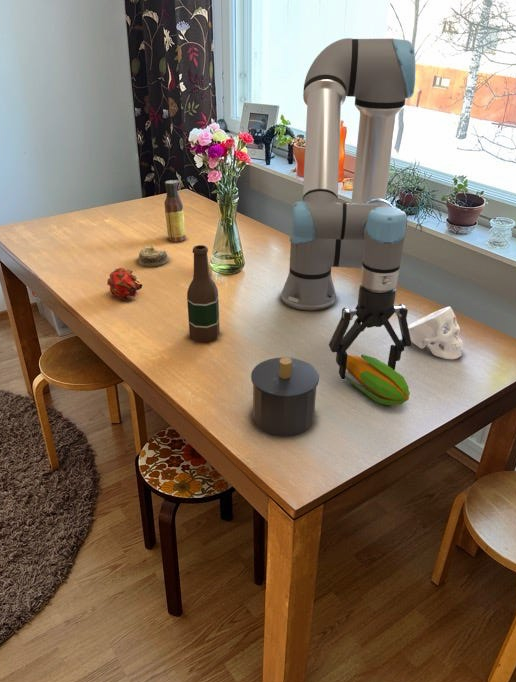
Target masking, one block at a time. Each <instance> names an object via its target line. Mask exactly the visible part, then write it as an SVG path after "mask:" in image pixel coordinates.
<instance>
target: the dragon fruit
mask: <svg viewBox="0 0 516 682" xmlns="http://www.w3.org/2000/svg"><path fill="white" fill-rule="evenodd" d="M106 284H107V286H109V291H110V293H111V295H112V296H117V297H118V298H120V299H121V300H123V301H130V299H129V297H136V296H137V294H138V292H137V291H139V290H141V289H142V288H143V283H140V281H138V280H137V277H136V275H134V274H133V270H131V269H126V268H124V267H119V268H115V269H113V271H112V272H110V274H109V278H107V283H106Z"/></svg>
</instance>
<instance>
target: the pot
mask: <svg viewBox="0 0 516 682" xmlns="http://www.w3.org/2000/svg"><path fill="white" fill-rule="evenodd" d="M316 396H317V387H316V388H315V389H314V390H313V391H311V392H310V393H308V394H306V395H303V396H300V397H294V398H279V397H273V396H270V395H267V394H264V393H262V392H261V391H259V390H258V389H257V388H256V387H255V386H254V385H253V384H252V415H253V421H254V424H255V425H256V427H257V428H258V429H260V430H261V431H262V432H264V433H267V434H269V435H272V436H277V437H294V436H298V435H301V434H303V433H305V432H306V431H308V430H309V429H310V428H311V426H312V425H313V423H314V418H315V411H316V410H315V409H316V398H317V397H316Z"/></svg>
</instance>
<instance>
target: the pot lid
mask: <svg viewBox="0 0 516 682" xmlns="http://www.w3.org/2000/svg"><path fill="white" fill-rule="evenodd" d="M319 374H320V373H319V372H318V370H317V369H316V368H315V367H314V366H313V365H312V364H310V363H308V362H307V361H304V360H301V359H299V358H295V357H274V358H269V359H266V360H263V361H261V362H259V363H258V364H256V365H255V366H254V368H253V369H252V370H251V373H250V380H251V383H252V386H253V385H254V386H255V387H256V388H257V389H258V390H259V391H261V392H262V393H264V394H267V395H270V396H273V397H279V398H294V397H300V396H303V395H306V394H308V393H310V392H311V391H313V390H314V389H315V388H316V389H317V387H318V385H319V382H320V375H319Z"/></svg>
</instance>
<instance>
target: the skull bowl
mask: <svg viewBox="0 0 516 682" xmlns="http://www.w3.org/2000/svg"><path fill="white" fill-rule="evenodd" d="M408 329H409V334H410V339H411V343H412V344H413V345H415V346H416V347H417V348H420V349H422V350H423V349H425V347H426V346H427V347H428V348H429V350H430V352H431V353H432V355H434V356H435V357H439V358H442V359H445V360H457V359H459V358H460V357H461V356H462V351H461V349H462V348H463V346H464V342H463V341H462V338H460V337H459V335H460V334H459V333H460V332H461V328H460V325H459V324H458V322H457V316H456V314H455V312H454V310H453V309H452V307H451V306H446V307H444V308H441V309H438V310H436V311H434V312H431V313H430V314H427V315H425V316H423V317H421V318H419V319H418V320H417V319H416V321H414V322H412V323H410V324H408ZM440 346H442V347H443V348H442V347H440Z"/></svg>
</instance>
